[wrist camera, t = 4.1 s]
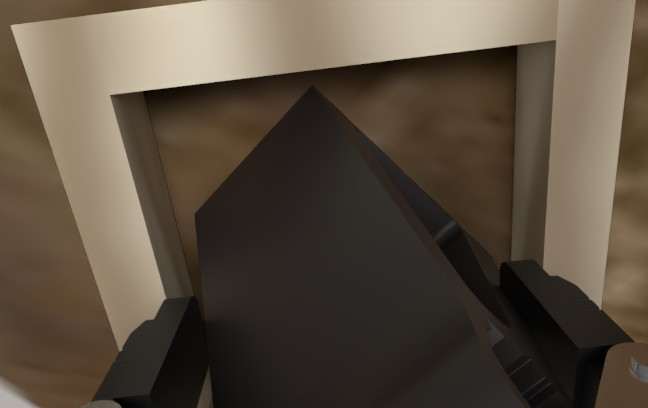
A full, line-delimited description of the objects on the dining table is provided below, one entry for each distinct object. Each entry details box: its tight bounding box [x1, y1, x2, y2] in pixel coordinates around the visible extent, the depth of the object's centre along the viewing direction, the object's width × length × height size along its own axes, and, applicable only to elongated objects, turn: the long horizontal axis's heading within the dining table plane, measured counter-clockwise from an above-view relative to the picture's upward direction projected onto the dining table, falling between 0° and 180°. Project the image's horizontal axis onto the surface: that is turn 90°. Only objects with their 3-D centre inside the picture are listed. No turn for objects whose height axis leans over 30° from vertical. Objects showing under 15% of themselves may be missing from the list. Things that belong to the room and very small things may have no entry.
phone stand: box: [195, 86, 576, 408], centre depth 12 cm, size 9×6×12 cm, turn 46°
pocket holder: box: [11, 0, 636, 408], centre depth 16 cm, size 16×16×2 cm
